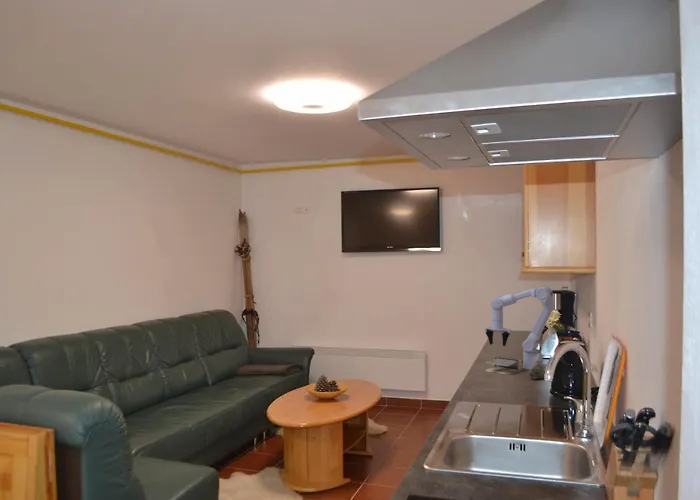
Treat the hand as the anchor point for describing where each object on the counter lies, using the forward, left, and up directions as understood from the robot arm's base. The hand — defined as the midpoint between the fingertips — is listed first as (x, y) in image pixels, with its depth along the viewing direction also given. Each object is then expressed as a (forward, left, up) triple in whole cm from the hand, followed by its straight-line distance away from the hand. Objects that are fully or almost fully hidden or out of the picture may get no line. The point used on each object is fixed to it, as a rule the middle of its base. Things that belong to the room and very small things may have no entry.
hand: (497, 344), depth 296 cm
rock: (-26, +18, -4) cm, 32 cm away
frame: (-9, +8, -10) cm, 16 cm away
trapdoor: (-9, +8, -6) cm, 13 cm away
